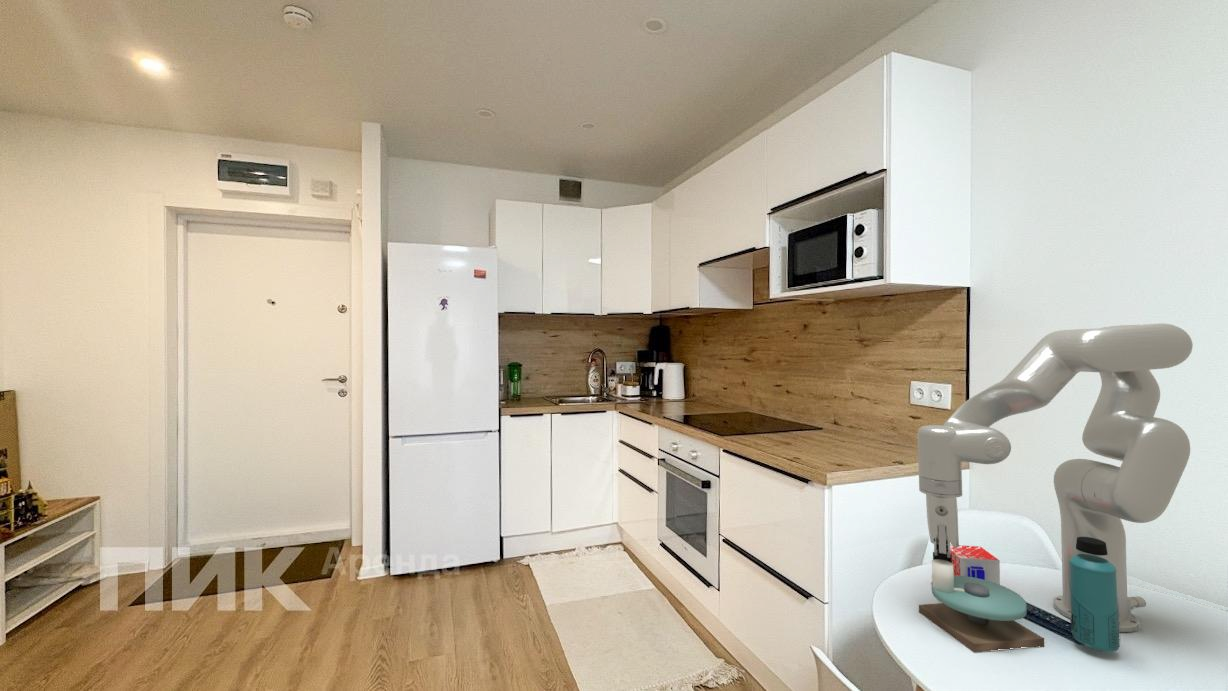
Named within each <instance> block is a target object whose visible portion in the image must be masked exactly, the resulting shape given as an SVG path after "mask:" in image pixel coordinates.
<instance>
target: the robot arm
mask: <svg viewBox="0 0 1228 691" xmlns="http://www.w3.org/2000/svg"><path fill="white" fill-rule="evenodd" d="M1192 340H1193V339H1192V338H1191V336H1190V335H1189V334H1188V332H1186V330H1185V329H1183V328H1181V327H1179V326H1176V325H1174V324H1169V323H1147V324H1126V325H1125V324H1123V325H1111V326H1110V325H1109V326H1104V327H1100V328H1097V327H1096V328H1082V329H1081V328H1079V329H1062V330H1061V329H1060V330H1054V331H1053V332H1050V333H1048V334H1046V335H1045V336H1043V337H1042V338H1041V339H1040V340H1039V341H1038V342H1037V343H1036V344H1035V346H1033V348H1031V350H1030V351H1029V352H1028V353H1027V354H1026V355H1025V356H1024V357H1023V358H1022V359H1021V360H1020V361H1019V363H1017V365H1016V366H1014V367H1013V369H1012V370H1011V371H1010V372H1009V373H1008V374H1007V375H1006V376H1005V377H1004V378H1003V379H1002V380H1000V381H998V382H997V383H994V384H993V385H991V386H989V387H987V388H986V389H984V390H982V391H980V392H979V393H977V394H976V395H974V396H972V397H971V398H968V399H966V401H965V402H963V403H962V404H960V405H959V407H958V408H957V409H956V410H955V411H954V412H953V413H952V414H951V415H950V416H949V417H948V418H947V419H946V421H945V422H944V423H943V424H942V425H938V424H930V425H922V426H921V427H919V429H918V430H917V453H918V454H917V457H918V458H917V460H918V461H917V462H918V489H919V492H920V493H922V494H925V500H926V501H925V502H926V506H925V507H926V519H927V527H928V528H927V529H928V534H929V540H930V543H931V544H932V545H933V551H932V560H935V559H939V560H945V561H948V562H950V563H952V557H951V555H950V545H952V546H955V548H957V547H959V545H960V542H959V536H960V535H959V517H958V516H959V515H958V514H959V513H958V512H959V511H958V500H957V498H961V497H963V475H962V472H963V470H962V469H963V467H962V466H963V464H962V463H964V462H965V463H974V464H982V465H996V464H999V463H1002V462H1003V461H1005V460H1006V459H1007V458H1008V457H1009V455H1010V453H1011V450H1012V445H1011V442H1010V439H1009V438H1008V437H1007V436H1006V435H1005V434H1004V433H1003V432H1002V431H1000V430H998V429H995V428H993V427H991V426H992V425H994V424H995V423H997V422H999V421H1001V420H1003V419H1005V418H1008V417H1012V416H1014V415H1015V416H1016V415H1018V414H1024V413H1028V412H1032V411H1037V410H1039V409H1041V408H1044V407H1046V406H1047V405H1049V403H1051V402H1052V400H1054V399H1055V397H1056V396H1057V395H1058V394H1059V393H1060V392H1062V390H1063V389H1064V388H1065V386H1066V385H1067V384H1068V383H1069V382H1070V381H1072V379H1074V377H1075V376H1076V375H1077V374H1078V373H1080V372H1083V373H1098V374H1099V375H1100V379H1101V387H1100V391H1099V393H1098V397H1097V400H1096V401H1095V404H1094V405H1093V408H1092V410H1091V413H1090V415H1089V418H1087V422H1086V423H1085V426H1084V429H1083V431H1082V432H1083V433H1082V437H1081V438H1082V443H1083V445H1084V446H1085V448H1086V449H1087V450H1088V451H1090V452H1092V453H1093V454H1095V455H1099V456H1100V457H1104V458H1108V459H1111V460H1116V461H1120V462H1121V465H1120V466H1117V465H1114V464H1110V463H1104V462H1102V461H1096V460H1092V459H1086V458H1073V459H1067V460H1066V461H1063V462H1062V463H1060V464H1059V465H1058V466H1057V468H1056V470H1055V471H1054V475H1053V487H1054V490H1055V495H1056V498H1057V501H1058V502H1057V503H1058V506H1059V514H1060V531H1061V532H1060V534H1061V535H1060V536H1061V537H1060V538H1061V539H1060V541H1061V543H1060V544H1061V572H1062V573H1061V574H1062V576H1061V577H1062V580H1061V582H1062V594H1061V595H1058V596H1055V597H1054V598H1053V600H1052V602H1053V604H1052V605H1053V608H1054V609H1055V610H1056V611H1057V612H1059V613H1060V614H1061V615H1063V616H1064V617H1067V618H1068V619H1070V620H1071V608H1070V607H1071V602H1070V601H1071V595H1070V583H1069V582H1070V563H1069V559H1070V558H1071V557H1073V556H1075V555H1077V554H1088V553H1085V552H1082V551H1079V550H1077V549H1076V542H1077V537H1091V538H1096V539H1099V540H1102V541H1104V542H1105V543H1106V547H1107V555H1094V556H1098V557H1101V558H1104V559H1106V560H1108V561H1109V562H1110V563H1111V564H1112V565H1114V566H1115V568H1116V570H1117V572H1116V581H1117V598H1118V599H1117V600H1118V605H1119V606H1118V607H1119V609H1118V610H1119V611H1118V612H1120V613H1118V617H1120V618H1118V619H1119V622H1120V625H1119V633H1132V632H1136V631H1138V630H1139V629H1140V620H1139V619H1138V618H1137V616H1136V615H1134V614H1133V613H1132V610H1133V609H1134V608H1145V607H1147V601H1146V599H1145V598H1144V597H1141V596H1137V595H1136V596H1130V597H1129V596H1128V575H1127V574H1128V572H1127V570H1128V568H1127V539H1126V537H1127V536H1126V531H1125V528H1124V524H1123V522H1122V520H1124V521H1126V522H1127V521H1128V522H1130V523H1137V524H1144V523H1145V524H1146V523H1150V522H1153V521H1155V520H1157V519H1158V518H1159V517H1161V516H1162V515H1163V513H1165V511H1166V510H1167V508H1168V507H1169V504H1170V502H1171V500H1172V498H1173V495H1175V494H1174V493H1175V491H1176V489H1177V487H1178V485H1179V483H1180V480H1181V478H1182V475H1183V473H1184V472H1185V470H1186V467H1187V464H1188V463H1189V462H1188V461H1189V459H1190V455H1191V444H1190V439H1189V436H1188V434H1187V433H1186V431H1185V430H1184V428H1182V427H1181V426H1180V425H1178V424H1176V423H1175V422H1173V421H1171V420H1168V419H1164V418H1162V417H1156V416H1155V414H1156V411H1157V409H1158V405H1159V402H1160V401H1161V389H1160V386H1159V383H1158V382H1157V380H1156V378H1155V376H1154V374H1153V373H1152V372H1151V370H1162V369H1169V368H1173V367H1177V366H1178V365H1180V364H1182V363H1183V362H1185V361H1186V360H1187V359H1188V358H1189V357H1190V355H1191V354H1192V351H1193V345H1194V344H1193V341H1192ZM1089 555H1093V554H1089Z"/></svg>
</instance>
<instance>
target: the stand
mask: <svg viewBox="0 0 1228 691" xmlns="http://www.w3.org/2000/svg"><path fill="white" fill-rule="evenodd" d="M918 613H920V615H922V616H923V617H925V618H926V619H928V620H930V621H931V622H932V623H933V624H934V625H936V626H938V627H939V628H940V629H942V630H943V631H944V632H946V633H947V634H948V635H950V636H951V637H952V638H954V639H955V640H957V641H958V642H959V643H960V644H962V645H963V646H965V647H966V648H967V649H969V650H970V651H972V652H973V653H983V652H982V651H987V652H992V651H991V650H998V649H1010V648H1021V647H1034V648H1042V646H1043V648H1044V647H1045V638H1044V637H1042V636H1041V635H1039V634H1037V633H1036V632H1034V631H1032V630H1031V629H1029V628H1027V627H1026V626H1024V625H1023V624H1021V623H1019V622H1017V620H1013V621H998V620H990V619H984V618H980V617H976V616H972V615H969V614H965V613H963V612H960V611H957V610H955V609H953V608H950V607H948V606H947V605H945V604H943V603H942V602H939V603H926V604H925V603H924V604H918ZM1039 646H1040V647H1039ZM1010 650H1011V649H1010Z"/></svg>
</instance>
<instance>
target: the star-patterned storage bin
mask: <svg viewBox="0 0 1228 691" xmlns="http://www.w3.org/2000/svg"><path fill="white" fill-rule="evenodd" d="M950 555H951V557H952V564H953V569H954V575H960V576H968V577H974V578H979V579H983V580H987V581H990V582H993V583H996V584H999V585H1001V575H1000V574H1001V573H1000V572H1001V571H1000V570H1001V569H1000V568H1001V566H1000V559H999V558H997V557H996V556H994V555H993V554H991V553H990V552H988V551H987V550H986V549H985V548H983V547H982V546H978V545H960V544H959V547H957V548H955V546H952V545H951V544H950Z"/></svg>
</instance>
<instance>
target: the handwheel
mask: <svg viewBox="0 0 1228 691" xmlns="http://www.w3.org/2000/svg"><path fill="white" fill-rule="evenodd" d="M931 594H932V596H934V598H935V599H936V600H938V601H939V603H943V604H945V605H947V606H948V607H950V608H953V609H955V610H957V611H960V612H963V613H965V614H969V615H972V616H976V617H980V618H984V619H990V620H998V621H1013V620H1014V621H1018V620H1021V619H1023V618H1025V617H1026V616H1027V612H1028V610H1027V602H1026V600H1025V599H1024V597H1023V596H1021V595H1020V594H1018V593H1017V592H1016V591H1014V590H1013V589H1010V588H1008V587H1006V586H1004V585H1002V584H1000V585H999V584H996V583H993V582H990V581H987V580H983V579H979V578H974V577H968V576H960V575H954V569H953V564H952V563H950V562H948V561H945V560H939V559H935V560H933V559H932V560H931Z"/></svg>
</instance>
